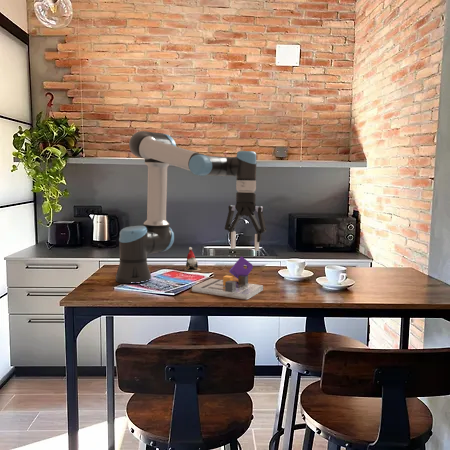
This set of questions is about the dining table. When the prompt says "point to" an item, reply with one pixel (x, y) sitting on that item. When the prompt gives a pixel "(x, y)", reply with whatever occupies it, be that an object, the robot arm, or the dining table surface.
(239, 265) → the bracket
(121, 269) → the robot arm
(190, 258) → the figurine
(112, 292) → the dining table surface
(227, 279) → the handle
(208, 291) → the panel
